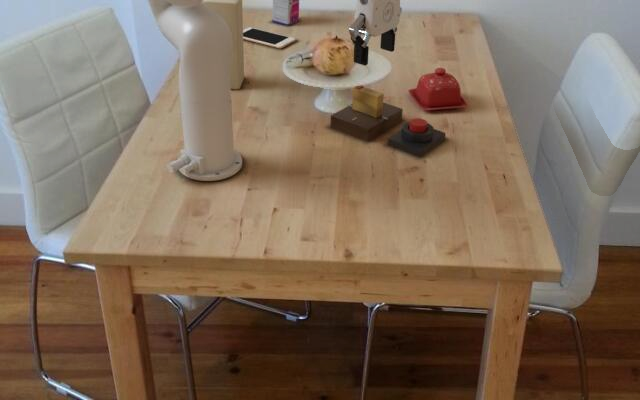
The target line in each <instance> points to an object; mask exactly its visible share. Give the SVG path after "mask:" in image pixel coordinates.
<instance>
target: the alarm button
mask: <svg viewBox="0 0 640 400" xmlns="http://www.w3.org/2000/svg"><path fill="white" fill-rule="evenodd" d="M409 122H410V125H409V130H410V131H413V132H417V133H421V132H426V129H427V123H428V121H427V120H426V119H423V118H419V117H417V118H415V117H414V118H412V119H410V121H409Z"/></svg>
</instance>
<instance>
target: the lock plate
mask: <svg viewBox="0 0 640 400" xmlns="http://www.w3.org/2000/svg"><path fill="white" fill-rule="evenodd" d="M352 107H353V103H351V104H346V107H343V108H342V109H340V110H338V111H336V112H335V113H333V114H331V115H330V129H333V130H336V131H338V132H341V133H343V134H346V135H349V136H351V137H353V138H356V139H358V140H359V139H360V140H362V141H364V142H367V143H368V142H370V141H372V140H374V139H375V138H376V137H378V136H380V135H382V134H383V133H385V132H386V131H388V130H389V129H391V128H393V127H394V126H396V125H397V124H399V123H401V122H402V120H403V119H402V118H403V111H404V110H403V108H402V107H398V106H395V105H392V104H389V103H386V102H385V101H383V109H382V115H380V116H379V117H377V118H375V117H373V116H370V115H367V114H364V113H362V112H359V111H356V110H353V109H352Z"/></svg>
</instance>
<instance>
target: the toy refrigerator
mask: <svg viewBox="0 0 640 400" xmlns="http://www.w3.org/2000/svg"><path fill="white" fill-rule="evenodd" d="M202 3H203V4H205V5H206V6H208V7H209V8H211V9H212V10H213V11H215V12H216V13H218V14H219V15H220V16H221V17H222V18H223V19H224V20H225V22H226V23H227V25H228V26H229V28H230V31H231V33H232V39H233V49H232V56H231V65H230V84H231V90H240V89H241V86H242V84H243V83H244V80H245V60H244V59H245V58H244V55H245V54H244V39H243V30H244V22H243V21H244V17H243V0H203V1H202Z"/></svg>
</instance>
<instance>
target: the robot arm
mask: <svg viewBox="0 0 640 400" xmlns="http://www.w3.org/2000/svg"><path fill="white" fill-rule="evenodd" d="M203 1H204V0H147V2H148V5H149V7H150V10H151V13H152V15H153V18H154V20H155V23H156V24H157V27H158V29H159V31H160V33H161V34H162V36H163V37H164V38H165V39H166V40H167V42H169V43H170V44H171V45H172V46H173V47H174V48H175V49H176V50H177V51H178V53H179V69H178V92H179V100H180V113H181V125H182V135H183V146H184V147H183V148H182V149H180V151H179V152H180V156H178V158H177V159H176V160H173V161H171V162H169V163H167V164H166V166H165V167H166V171H167V172H168V173H169V174H173V173H175V172H178V171H179V172H180V173H181V174H182V175H183V176H185V177H186V178H189V179H191V180H195V181H200V182H215V181H221V180H224V179H227V178H231V177H232V176H234V175H236V174H237V173H238V172H239V171H240V170H241V169H242V167H243V157H242V155H241V153H239V152H238V151H237V150H235V149H234V148H235V147H234V129H233V125H234V124H233V107H232V106H233V105H232V89H231V84H230V65H231V56H232V49H233V39H232V33H231V31H230V28H229V26H228V25H227V23H226V22H225V20H224V19H223V18H222V17H221V16H220V15H219V14H218V13H216V12H215V11H213V10H212V9H211V8H209V7H208V6H206V5H205V4H203ZM402 11H403V8H402V7H401V0H356V3H355V11H354V12H355V13H354V21H353V23H352V24H351V25H350V26H349V28H348V33H349V36H350V40H351V42H352V45H353V62H354V63H355V64H358V65H362V66H368V64H369V49H370V47H369V46H368V44H369V41H370V39H371V37H372V38H373V37H374V38H376V37H378V36H380V49H381V50H383V51H387V52H391V53H392V52H394V51H395V47H396V46H395V45H396V33H397V32H398V25H399V24H400V22H401V21H400V19H401V14H402ZM362 36H364V37H363V38H362Z"/></svg>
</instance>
